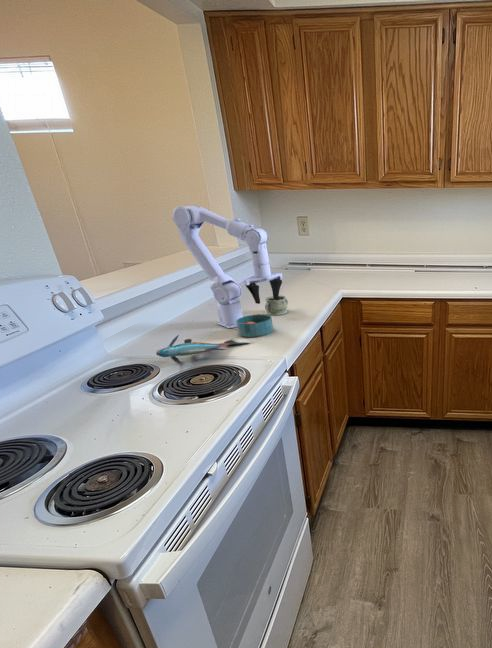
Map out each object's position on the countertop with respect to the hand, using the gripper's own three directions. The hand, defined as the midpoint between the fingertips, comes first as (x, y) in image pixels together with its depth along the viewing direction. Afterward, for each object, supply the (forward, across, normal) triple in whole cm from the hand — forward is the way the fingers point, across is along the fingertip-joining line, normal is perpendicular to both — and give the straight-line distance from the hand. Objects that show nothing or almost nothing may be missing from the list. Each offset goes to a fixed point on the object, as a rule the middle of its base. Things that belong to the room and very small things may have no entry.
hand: (267, 301), depth 154 cm
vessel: (+10, +12, +14) cm, 21 cm away
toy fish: (+8, -8, -4) cm, 12 cm away
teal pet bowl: (+9, -8, -3) cm, 13 cm away
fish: (+10, -30, -12) cm, 34 cm away
